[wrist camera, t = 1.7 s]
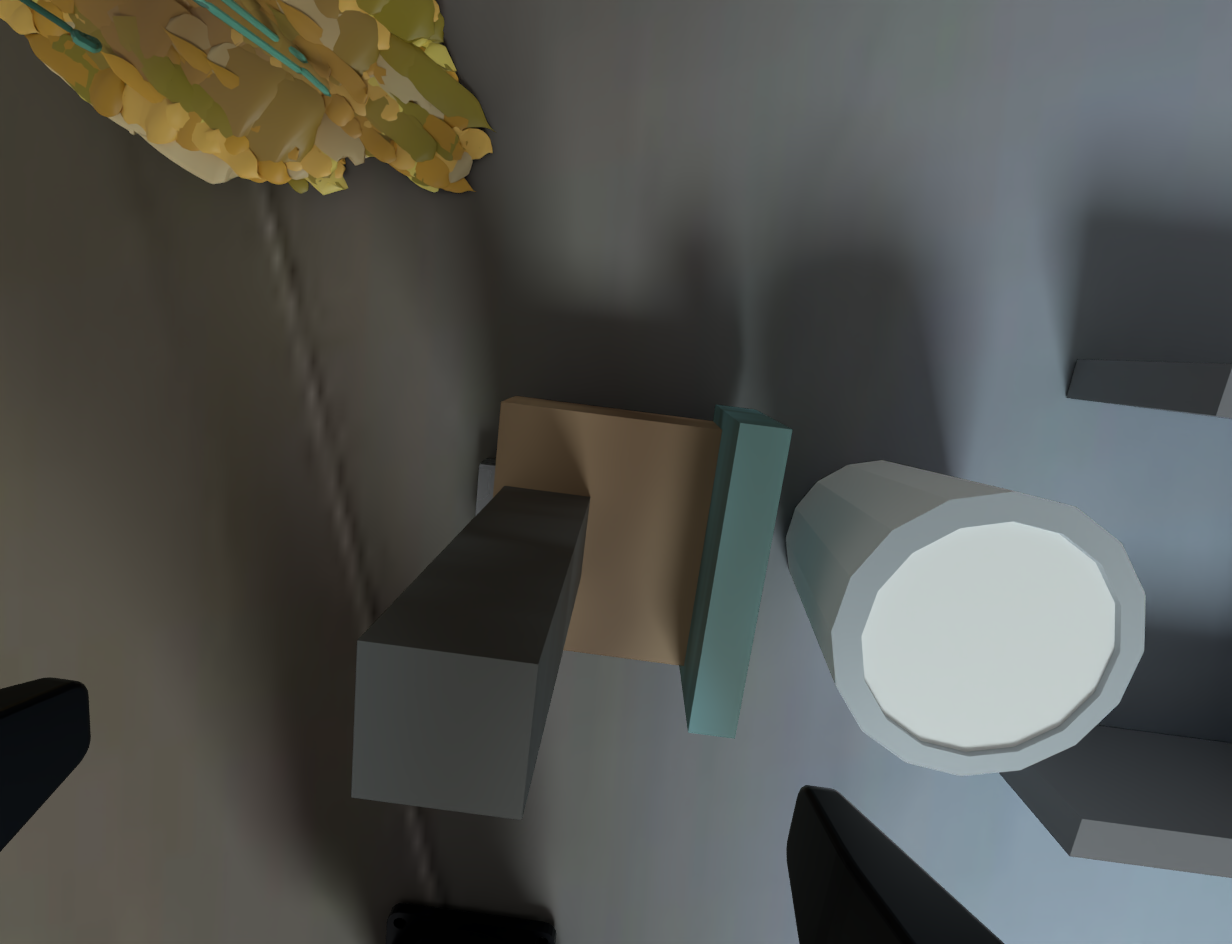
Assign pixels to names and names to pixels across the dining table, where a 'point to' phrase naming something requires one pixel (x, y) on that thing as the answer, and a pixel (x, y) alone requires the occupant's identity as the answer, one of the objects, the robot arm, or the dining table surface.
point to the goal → (1127, 759)
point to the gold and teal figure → (269, 84)
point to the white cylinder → (964, 614)
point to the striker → (570, 594)
